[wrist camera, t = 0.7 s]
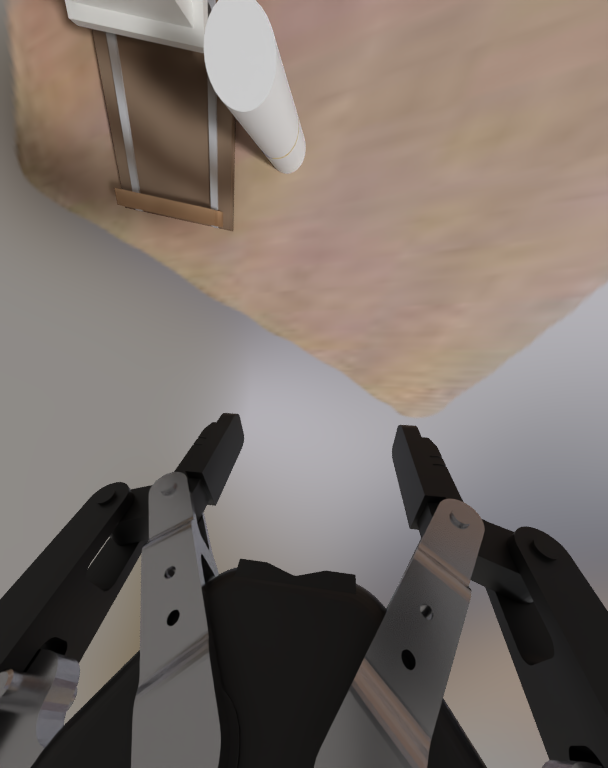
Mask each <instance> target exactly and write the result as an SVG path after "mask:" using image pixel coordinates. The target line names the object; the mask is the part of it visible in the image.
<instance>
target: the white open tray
mask: <svg viewBox="0 0 608 768" xmlns="http://www.w3.org/2000/svg"><path fill="white" fill-rule="evenodd" d="M65 3H66V8H67V13H68V17H69V19H70V20H71V21H73V22H74V23H75V24H76V25H77V26H82V27H86V28H91V29H95V30H100V31H104V32H109V33H113V34H118V35H122V36H127V37H132V38H136V39H141V40H145V41H150V42H154V43H159V44H163V45H168V46H172V47H177V48H182V49H186V50H191V51H195V52H200V53H204V34H205V27H206V24H207V20H208V17H209V15H210V13H211V11H212V10H211V7H210V5H209V3H208V2H207V0H65Z"/></svg>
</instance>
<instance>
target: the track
mask: <svg viewBox="0 0 608 768" xmlns="http://www.w3.org/2000/svg"><path fill="white" fill-rule="evenodd" d="M207 2H208V3H209V5H210V7H211V10H212V9H213V7H214V5H215V4H216V3H217V2H218V0H207ZM92 31H93V37H94V42H95V48H96V53H97V58H98V64H99V69H100V74H101V80H102V85H103V91H104V96H105V101H106V107H107V112H108V117H109V123H110V128H111V133H112V139H113V144H114V150H115V155H116V160H117V166H118V171H119V176H120V182H121V187H122V189H118V188H114V189H115V194H116V199H117V204H118V205H122V206H125V208H130V209H134V210H139V211H143V212H148V213H152V214H157V215H162V216H166V217H171V218H175V219H180V220H184V221H189V222H193V223H198V224H202V225H207V226H211V227H215V228H220V229H225V230H229V231H233V220H234V159H235V117H234V115H233V114H232V113H231V112H230V110H229V109H228V108H227V107H226V105H225V104H224V103H223V102H222V100H221V99H220V98H219V96H218V95H217V93H216V92H215V90H214V88H213V86H212V84H211V82H210V79H209V76H208V73H207V69H206V65H205V59H204V53H200V52H195V51H191V50H186V49H182V48H177V47H172V46H168V45H163V44H159V43H154V42H150V41H145V40H141V39H136V38H132V37H127V36H122V35H118V34H113V33H109V32H104V31H100V30H95V29H92Z"/></svg>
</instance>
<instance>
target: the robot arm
mask: <svg viewBox="0 0 608 768" xmlns="http://www.w3.org/2000/svg"><path fill="white" fill-rule="evenodd" d="M243 443H244V434H243V429H242V425H241V420H240V417H239V414H230V413H223V414H222V415H221V416H220V418H219V420H218V421H217V423H216V422H213V423H211V424H210V425H208V426H207V427H206V428H205V429H204V430H203V431H202V432H201V434H200V436H199V437H198V439H197V440H196V441H195V443H194V445H193V446H192V447H191V448H190V450H189V451H188V453H187V454H186V456H185V457H184V459H183V460H182V461H181V463H180V464H179V466H178V467H177V469H176V470H175V471H174V472H172V473H169V474H166V475H164V476H162V477H161V478H159V479H158V480H157V481H156V482H155V483H154V484H153V485H151V486H146V487H141V488H136V489H131V490H130V488H129V487H128V485H127V484H125V483H122V482H116V483H113V484H109V485H107V486H105V487H103V488H101V489H100V490H99V491H97V492H96V493H95V494H93V495H92V497H91V498H90V499H89V500H88V501H87V502H86V503H85V504H84V505H83V507H82V508H81V509H80V510H79V511H78V512H77V513H76V514H75V516H74V517H73V518H72V519H71V520H70V521H69V522H68V524H67V525H66V526H65V527H64V528H63V529H62V530H61V532H60V533H59V534H58V535H57V536H56V537H55V538H54V539H53V541H52V542H51V543H50V544H49V545H48V546H47V547H46V548H45V550H44V551H43V552H42V553H41V554H40V555H39V556H38V557H37V559H36V560H35V561H34V562H33V563H32V564H31V566H30V567H29V568H28V569H27V570H26V571H25V572H24V573H23V574H22V576H21V577H20V578H19V579H18V580H17V581H16V582H15V584H14V585H13V586H12V587H11V588H10V589H9V590H8V591H7V593H6V594H5V595H4V596H3V597H2V598H1V599H0V768H487V767H486V765H485V764H484V762H483V761H482V759H481V758H480V756H479V754H478V753H477V751H476V749H475V748H474V746H473V745H472V743H471V742H470V740H469V738H468V737H467V735H466V734H465V732H464V730H463V729H462V727H461V726H460V724H459V723H458V721H457V720H456V718H455V716H454V715H453V713H452V711H451V710H450V708H449V707H448V705H447V704H446V702H445V700H444V699H443V695H444V692H445V689H446V685H447V681H448V678H449V674H450V671H451V667H452V664H453V660H454V656H455V653H456V649H457V645H458V642H459V638H460V635H461V631H462V628H463V624H464V621H465V617H466V613H467V610H468V606H469V603H470V598H471V589H470V588H469V583H470V580H472V581H474V582H476V583H478V584H480V585H482V586H484V587H485V588H486V590H487V593H488V595H489V598H490V601H491V604H492V606H493V609H494V612H495V615H496V617H497V620H498V623H499V625H500V628H501V631H502V633H503V636H504V639H505V641H506V644H507V647H508V649H509V652H510V655H511V658H512V660H513V663H514V666H515V668H516V671H517V674H518V676H519V679H520V682H521V684H522V687H523V690H524V693H525V695H526V698H527V700H528V703H529V706H530V709H531V711H532V714H533V717H534V719H535V722H536V724H537V728H538V730H539V732H540V736H541V738H542V741H543V743H544V746H545V749H546V752H547V754H548V757H549V761H548V762H546V763H545V764H544V765H543V766H542V768H608V611H607V610H606V608H605V607H604V605H603V604H602V602H601V601H600V599H599V598H598V596H597V595H596V593H595V592H594V590H593V589H592V587H591V586H590V584H589V583H588V581H587V580H586V579H585V577H584V576H583V574H582V573H581V571H580V570H579V568H578V567H577V565H576V564H575V562H574V561H573V559H572V558H571V556H570V555H569V554H568V552H567V551H566V550H565V549H564V547H563V546H562V545H561V544H560V543H558V542H557V541H556V540H555V539H554V538H552V537H550V536H549V535H548V534H546V533H544V532H542V531H540V530H538V529H535V528H531V527H520V528H518V529H517V530H516V531H515V532H512V531H510V530H507V529H504V528H502V527H500V526H497V525H494V524H492V523H489V522H487V521H485V520H483V519H481V517H480V516H479V515H478V513H476V511H475V510H474V509H473V508H471V507H470V506H469V505H467V504H466V503H464V502H463V500H462V499H461V497H460V494H459V492H458V490H457V488H456V486H455V484H454V482H453V479H452V478H451V475H450V473H449V471H448V469H447V467H446V465H445V463H444V461H443V459H442V457H441V454H440V452H439V450H438V448H437V446H436V445H435V444H434V443H433V442H432V441H431V440H430V439H429V438H422V437H421V435H420V432H419V430H418V428H417V427H416V426H408V425H399V426H398V428H397V432H396V436H395V440H394V444H393V448H392V458H393V463H394V467H395V471H396V475H397V478H398V482H399V487H400V491H401V495H402V499H403V503H404V506H405V511H406V515H407V519H408V523H409V527H410V529H417V530H419V532H420V535H421V540H420V542H419V544H418V546H417V548H416V550H415V552H414V554H413V556H412V558H411V560H410V562H409V564H408V566H407V568H406V570H405V572H404V574H403V576H402V578H401V580H400V582H399V585H398V586H397V588H396V590H395V592H394V594H393V596H392V598H391V600H390V603H389V604H388V607H387V608H385V607H384V606H383V605H382V604H381V602H379V600H378V599H377V598H376V597H375V596H374V595H372V594H371V593H370V592H369V591H367V590H366V589H364V588H363V587H361V586H359V585H357V584H356V578H355V575H353V574H346V573H339V572H331V571H322V572H316V573H310V574H305V575H299V576H293V575H291V574H289V573H287V572H285V571H283V570H281V569H279V568H277V567H275V566H273V565H271V564H269V563H267V562H260V561H253V560H246V559H240V561H239V564H238V567H237V568H234V569H230V570H227V571H225V572H223V573H221V574H219V573H218V570H217V566H216V563H215V560H214V558H213V554H212V549H211V545H210V540H209V535H208V530H207V526H206V521H205V516H204V513H203V512H204V510H205V508H206V506H207V505H216V504H217V502H218V499H219V497H220V495H221V493H222V491H223V488H224V486H225V484H226V482H227V480H228V477H229V475H230V473H231V471H232V468H233V466H234V464H235V462H236V460H237V458H238V455H239V453H240V451H241V449H242V446H243ZM108 537H110V538H109V540H108V541H107V542H106V544H105V545H104V543H105V541H106V540H107V539H108ZM103 545H104V547H103V548H102V550H101V551H100V552H99V550H100V549H101V547H102V546H103ZM98 552H99V554H98V555H97V557H96V558H95V559H94V557H95V556H96V554H97V553H98ZM141 553H142V560H141V561H142V562H141V621H140V650H139V651H138V652H137V653H136V654H135V655H134V656H133V657H132V658H131V659H130V660H129V661H128V662H127V663H126V664H125V665H124V666H123V667H122V668H121V669H120V670H119V671H118V672H117V673H116V674H115V675H114V676H113V677H112V678H111V679H110V680H109V681H108V682H107V683H106V684H105V685H104V686H103V687H102V688H101V689H100V690H99V691H98V692H97V693H96V694H95V695H94V696H93V697H92V698H91V699H90V700H89V701H88V702H87V703H86V704H85V705H84V706H83V707H82V708H81V709H80V710H79V711H78V712H77V713H76V714H75V715H74V716H73V717H72V718H71V719H70V720H69V721H68V722H67V723H66V724H65V725H64V719H65V715H66V711H67V710H68V709H69V708H70V707H71V705H72V704H73V702H74V700H75V697H76V695H77V684H78V680H79V675H80V668H79V662H80V660H81V659H82V657H83V655H84V653H85V651H86V650H87V648H88V646H89V644H90V643H91V641H92V639H93V637H94V636H95V634H96V632H97V630H98V629H99V627H100V625H101V623H102V621H103V620H104V618H105V616H106V615H107V612H108V611H109V609H110V607H111V605H112V604H113V602H114V600H115V599H116V597H117V595H118V593H119V592H120V590H121V588H122V586H123V584H124V583H125V581H126V579H127V578H128V576H129V574H130V572H131V570H132V569H133V567H134V565H135V563H136V562H137V560H138V558H139V556H140V555H141ZM93 559H94V561H93V562H92V564H91V565H90V563H91V561H92V560H93ZM89 565H90V567H89ZM88 567H89V568H88Z"/></svg>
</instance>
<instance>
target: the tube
mask: <svg viewBox="0 0 608 768" xmlns="http://www.w3.org/2000/svg"><path fill="white" fill-rule="evenodd" d="M204 59H205V65H206V69H207V73H208V76H209V79H210V82H211V84H212V86H213V88H214V90H215V92H216V93H217V95H218V96H219V98H220V99H221V100H222V102H223V103H224V104H225V105H226V107H227V108H228V109H229V110H230V112H231V113H232V114H233V115H234V117H235V118H236V119H237V120H238V122H239V123H240V124H241V125H242V127H243V128H244V129H245V130H246V132H247V133H248V134H249V135H250V137H251V138H252V139H253V140H254V142H255V143H256V144H257V145H258V147H259V148H260V149H261V150H262V152H263V153H264V154H265V156H266V157H267V158H268V159H269V161H270V162H271V163H272V164H273V166H274V167H275V168H276V169H277V170H278V171H280V172H282V173H286V174H289V173H292V172H294V171H296V170H297V169H298V168H299V167H300V166H301V164H302V162H303V160H304V157H305V151H306V144H305V138H304V135H303V131H302V128H301V125H300V121H299V118H298V114H297V111H296V108H295V104H294V101H293V97H292V94H291V91H290V87H289V84H288V80H287V77H286V74H285V70H284V67H283V63H282V60H281V57H280V53H279V50H278V46H277V43H276V40H275V36H274V33H273V29H272V27H271V24H270V22H269V19H268V17H267V15H266V13H265V12H264V10H263V8H262V7H261V6H260V5H259V4H258V2H257V1H256V0H218V2H217V3H216V4H215V5H214V7H213V9H212V11H211V13H210V15H209V17H208V20H207V24H206V27H205V34H204Z"/></svg>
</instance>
